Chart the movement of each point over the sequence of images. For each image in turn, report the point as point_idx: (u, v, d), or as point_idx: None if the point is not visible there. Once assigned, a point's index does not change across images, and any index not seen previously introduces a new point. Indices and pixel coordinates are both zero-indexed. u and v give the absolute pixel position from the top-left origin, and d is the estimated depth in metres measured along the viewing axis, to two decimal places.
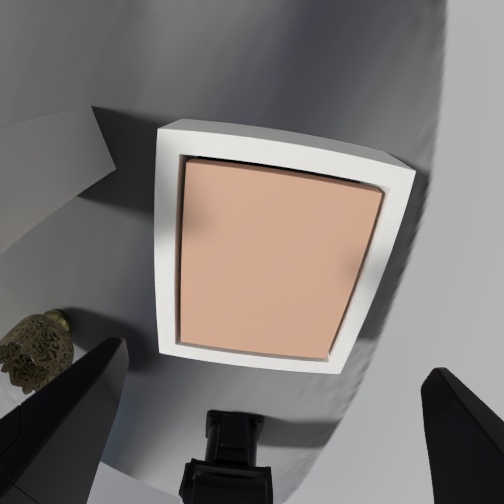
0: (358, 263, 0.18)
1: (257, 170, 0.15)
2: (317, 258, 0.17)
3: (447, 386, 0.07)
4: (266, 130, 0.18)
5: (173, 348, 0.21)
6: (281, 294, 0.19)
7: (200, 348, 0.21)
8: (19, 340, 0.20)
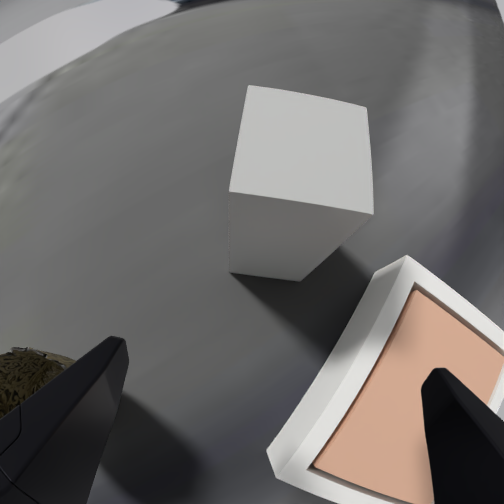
0: None
1: (452, 317, 0.18)
2: None
3: (447, 386, 0.07)
4: None
5: (299, 475, 0.14)
6: None
7: (330, 480, 0.14)
8: None
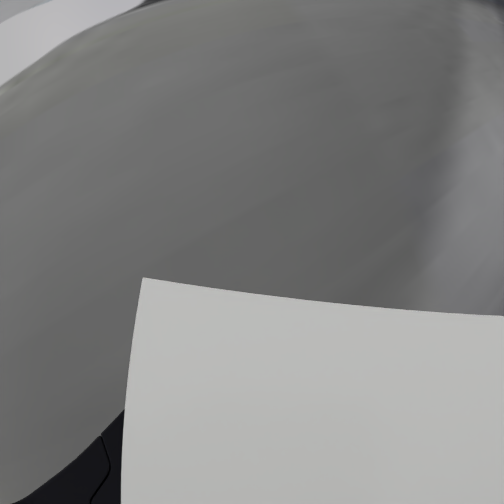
0: None
1: None
2: None
3: None
4: None
5: None
6: None
7: None
8: None
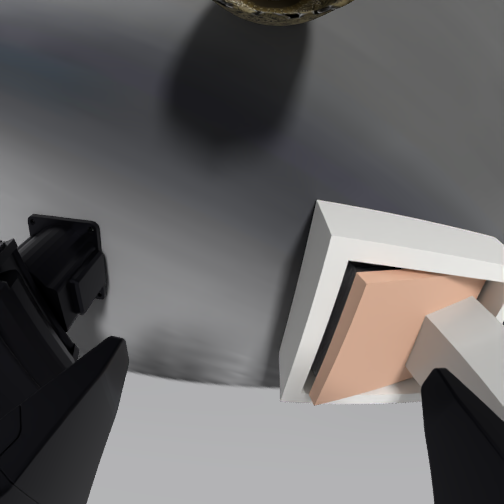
0: (401, 380, 0.22)
1: None
2: None
3: (447, 386, 0.07)
4: None
5: (341, 256, 0.15)
6: (396, 351, 0.19)
7: (339, 288, 0.16)
8: None
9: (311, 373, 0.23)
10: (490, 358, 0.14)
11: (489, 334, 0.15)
